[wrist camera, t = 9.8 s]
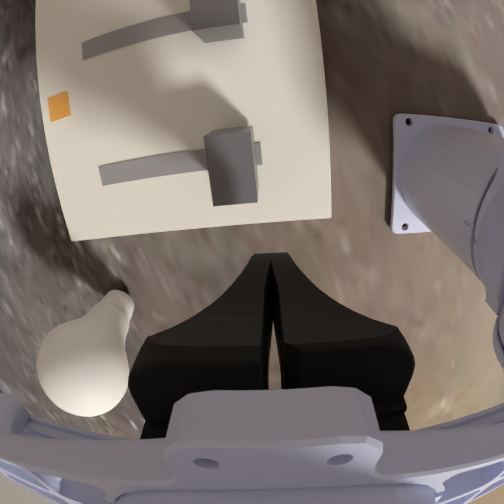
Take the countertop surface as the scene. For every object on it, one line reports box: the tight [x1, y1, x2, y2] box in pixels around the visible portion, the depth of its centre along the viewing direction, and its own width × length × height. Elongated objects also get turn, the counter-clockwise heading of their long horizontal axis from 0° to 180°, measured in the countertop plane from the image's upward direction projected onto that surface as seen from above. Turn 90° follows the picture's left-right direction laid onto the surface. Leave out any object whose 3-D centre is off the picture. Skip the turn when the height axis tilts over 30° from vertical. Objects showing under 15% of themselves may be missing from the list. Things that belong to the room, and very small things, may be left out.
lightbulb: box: [36, 290, 134, 417], centre depth 19 cm, size 6×6×11 cm
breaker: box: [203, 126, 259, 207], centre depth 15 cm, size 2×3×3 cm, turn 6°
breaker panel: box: [35, 0, 331, 241], centre depth 14 cm, size 17×24×2 cm
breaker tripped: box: [189, 0, 244, 43], centre depth 11 cm, size 2×3×3 cm, turn 6°
